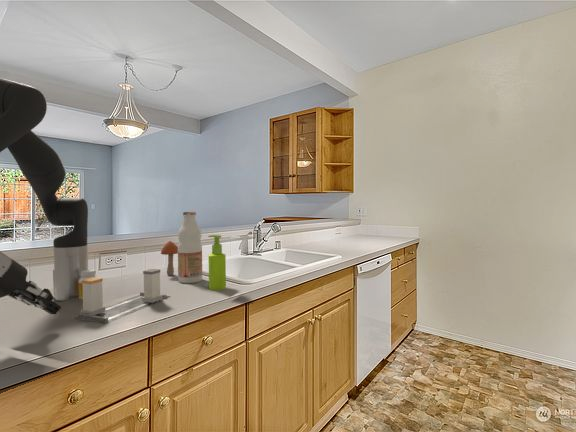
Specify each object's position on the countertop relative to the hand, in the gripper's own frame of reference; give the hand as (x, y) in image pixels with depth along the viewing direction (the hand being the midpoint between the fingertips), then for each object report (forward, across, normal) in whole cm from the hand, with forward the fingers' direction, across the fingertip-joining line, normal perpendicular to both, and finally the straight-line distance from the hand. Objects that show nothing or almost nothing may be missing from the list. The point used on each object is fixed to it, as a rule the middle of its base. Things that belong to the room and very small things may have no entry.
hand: (56, 310), depth 74 cm
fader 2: (+20, -7, -14) cm, 25 cm away
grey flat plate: (+16, -4, -8) cm, 19 cm away
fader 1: (+10, 0, -4) cm, 10 cm away
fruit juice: (+41, +1, -33) cm, 53 cm away
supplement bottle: (+18, +16, -10) cm, 27 cm away
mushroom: (+45, +16, -37) cm, 61 cm away
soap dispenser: (+35, -17, -27) cm, 47 cm away
